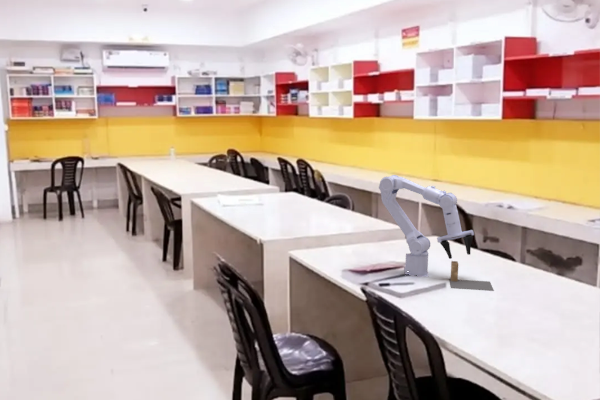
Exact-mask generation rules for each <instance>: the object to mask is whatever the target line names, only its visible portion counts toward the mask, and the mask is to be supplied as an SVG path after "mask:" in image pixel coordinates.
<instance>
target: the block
mask: <svg viewBox="0 0 600 400" xmlns="http://www.w3.org/2000/svg"><path fill="white" fill-rule="evenodd" d="M450 265H451V266H450V279H451V281H457V282H458V280H459V279H458V278H459V277H458V276H459V262H458V261H456V260H454V261H453V260H451V262H450Z"/></svg>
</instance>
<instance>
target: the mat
mask: <svg viewBox="0 0 600 400" xmlns="http://www.w3.org/2000/svg"><path fill="white" fill-rule="evenodd" d="M448 282H449V285H450V286H449V287H450V289H458V290H473V291H485V292H486V291H490V292H494V291H495V290H494V287H493V285H492V283H491V281H487V280H486V281H485V280H473V279H458V282H457V281H451V278H448Z"/></svg>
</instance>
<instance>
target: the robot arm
mask: <svg viewBox="0 0 600 400" xmlns="http://www.w3.org/2000/svg"><path fill="white" fill-rule="evenodd" d="M378 189H379V191H380V198H381V203H382V204H383V206H384V207H385V209H386V210H387V211H388V213H389V214H390V215H391V217H392V219H393V220H394V222H395V223H396V225H397V226H398V228H400V230H401V232H402V233H403V234H404V236H405V239H406V240H405V241H406V244H407V246H408V249H409V251H410V253H405V263H404V264H405V266H404V270H403V271H404V275H405V274H409V275H413V276H412V277H415V276H414V275H417V276H416V277H423V276H425V277H427V278H428V277H429V271H428V270H429V269H428V268H429V267H428V265H429V252H428V250H429V249H430V247H431V241H430V239H429V238H428V237H426V236H425V235H424V234H423V233H422V232H421V231H419V230H418V229H417V228H416V227H415V225H414V224H413V222H412V221H411V219H410V218H409V216H408V215H407V213H406V212H405V210H403V208H402V207H401V205H400V204H399V202H398V201H397V198H396V197H397V194H398V192H399V190H401V189H403V190H404V189H405V190H408V191H410V192H413V193H416V194H418V195H421V196H422V198H423V199H424V200H426V201H428V202H431V203H432V204H433V203H434V204H436V205H438V206H439V207H440V208H441V209H442V213H443V219H444V223H445V229H446V233H447V234H446V235H443V236H438V237H436V241H437V243H440V245H441V247H442V248H443V249H444V251H445V253H446V254H447V257H448V259H452V258H453V256H452V253H451V246H450V245H451V244H450V242H449V241H451V240H456V239H457V240H458V239H460V238H462V239H463V242H464V245H465V250H466V254H467V255H469V256H471V250H472V249H471V248H472V242H473V238H474V237H473V236H475V232H474V230H473V229H470V230H465V231H462V227H461V226H462V225H461V221H460V215H459V211H458V208H457V203H458V198H457V196H456V194H455V193H452V192H447V191H446V190H440V189H438V188H436V186H435V185H431V186H430V185H429V186H423V185H421V184H419V183H416V182H414V181H412V180H410V179H407V178H406V177H403V176H399V175H396V174H392V175H390V176H384V177H382V178H381V180H380V181H379V186H378ZM407 271H409V272H407ZM425 277H424V278H425Z"/></svg>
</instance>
